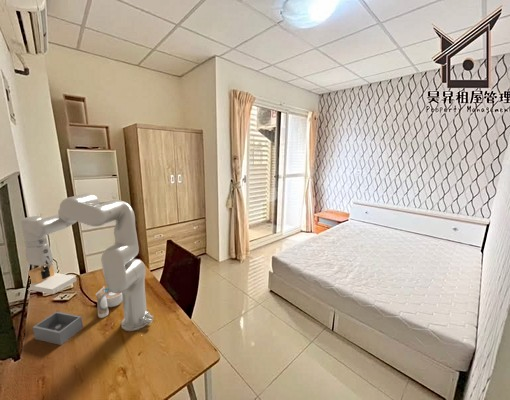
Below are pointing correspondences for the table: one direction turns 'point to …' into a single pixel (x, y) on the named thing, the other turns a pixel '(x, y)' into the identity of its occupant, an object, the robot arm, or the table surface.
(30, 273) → the lid
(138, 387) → the table surface
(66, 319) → the tub
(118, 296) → the cosmetic set
